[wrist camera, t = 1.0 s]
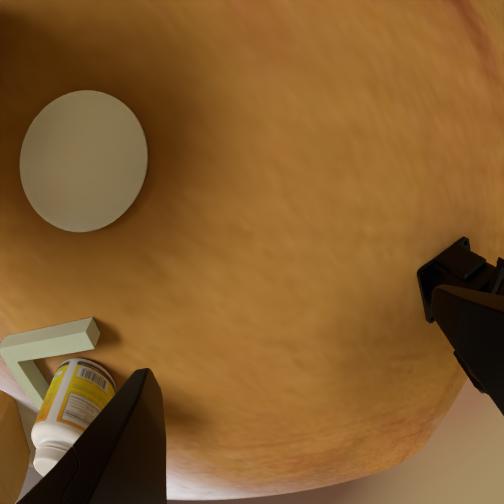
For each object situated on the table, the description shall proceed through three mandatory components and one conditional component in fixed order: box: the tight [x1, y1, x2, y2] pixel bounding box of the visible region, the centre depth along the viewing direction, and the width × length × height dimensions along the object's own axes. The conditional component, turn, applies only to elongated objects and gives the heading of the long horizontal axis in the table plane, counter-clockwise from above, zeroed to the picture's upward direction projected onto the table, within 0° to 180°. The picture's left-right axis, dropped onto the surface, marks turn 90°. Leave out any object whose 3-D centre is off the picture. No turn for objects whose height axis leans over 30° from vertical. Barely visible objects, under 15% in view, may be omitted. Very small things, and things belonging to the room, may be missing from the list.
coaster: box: [20, 90, 148, 232], centre depth 17 cm, size 9×9×1 cm
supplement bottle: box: [31, 358, 116, 477], centre depth 18 cm, size 6×6×10 cm
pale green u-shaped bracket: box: [0, 317, 100, 411], centre depth 22 cm, size 10×12×2 cm
